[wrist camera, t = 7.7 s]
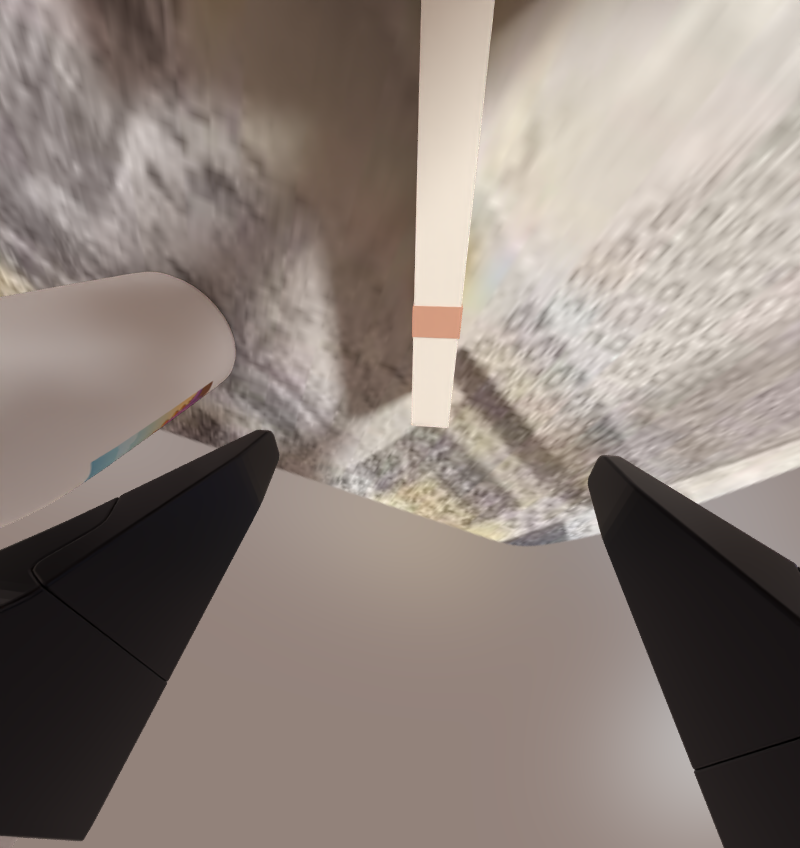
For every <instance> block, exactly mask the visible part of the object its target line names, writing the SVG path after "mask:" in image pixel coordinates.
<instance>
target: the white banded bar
mask: <svg viewBox="0 0 800 848" xmlns="http://www.w3.org/2000/svg"><path fill="white" fill-rule="evenodd" d="M494 4H495V0H421V31H420V73H419V116H418V158H417V200H416V243H415V285H414V304H413V311H412V337H413V370H412V412H411V425H414V426H429V427H443V428H448V425H449V416H450V407H451V398H452V389H453V379H454V370H455V361H456V352H457V343H458V339H459V337H460V328H461V319H462V310H463V306H462V297H463V288H464V279H465V270H466V260H467V251H468V242H469V233H470V224H471V215H472V206H473V196H474V187H475V178H476V169H477V160H478V151H479V141H480V132H481V123H482V114H483V105H484V96H485V87H486V77H487V68H488V59H489V50H490V41H491V32H492V22H493V13H494Z"/></svg>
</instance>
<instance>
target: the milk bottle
mask: <svg viewBox="0 0 800 848" xmlns="http://www.w3.org/2000/svg"><path fill="white" fill-rule="evenodd" d="M235 358H236V346H235V342H234V337H233V334H232V332H231V329H230V326H229V325H228V323H227V321H226V319H225V317H224V316H223V314H222V313H221V312H220V311H219V309H218V308H217V306H216V305H215V304H214V303H213V302H212V301H211V300H210V299H209V298H208V297H207V296H206V295H205V294H203V293H202V292H201V291H199V290H198V289H197V288H196V287H194V286H192V285H191V284H189V283H187V282H185V281H184V280H181V279H178V278H176V277H173V276H171V275H168V274H164V273H160V272H141V273H134V274H126V275H121V276H115V277H109V278H103V279H98V280H92V281H86V282H81V283H75V284H70V285H64V286H58V287H53V288H47V289H42V290H36V291H30V292H25V293H20V294H14V295H9V296H4V297H0V528H1V527H3V526H6V525H8V524H10V523H13V522H15V521H18V520H19V519H22V518H24V517H26V516H27V515H30V514H32V513H34V512H36V511H38V510H40V509H41V508H44V507H45V506H47V505H49V504H51V503H52V502H54V501H56V500H57V499H59V498H61V497H63V496H64V495H66V494H67V493H69V492H71V491H72V490H74V489H75V488H77V487H78V486H80V485H81V484H83V483H84V482H85V481H87V480H88V479H90V478H91V477H93V476H94V475H96V474H97V473H99V472H100V471H102V470H103V469H105V468H106V467H108V466H109V465H110V464H112V463H113V462H114V461H116V460H117V459H119V458H120V457H121V456H122V455H124V454H125V453H127V452H128V451H130V450H131V449H132V448H134V447H135V446H136V445H138V444H139V443H141V442H142V441H143V440H145V439H146V438H148V437H149V436H150V435H152V434H153V433H154V432H156V431H157V430H159V429H160V428H161V427H163V426H164V425H166V424H167V423H168V422H170V421H171V420H172V419H174V418H175V417H176V416H178V415H179V414H180V413H182V412H183V411H185V410H186V409H187V408H189V407H190V406H191V405H193V404H194V403H195V402H197V401H198V400H199V399H201V398H202V397H203V396H205V395H206V394H207V393H209V392H210V391H211V390H213V389H214V388H215V387H217V386H218V385H219V384H220V383H222V382H223V381H224V380H225V379H226V378H227V377H228V376H229V375H230V373H231V371H232V369H233V366H234V362H235Z"/></svg>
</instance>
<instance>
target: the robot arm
mask: <svg viewBox="0 0 800 848" xmlns="http://www.w3.org/2000/svg"><path fill="white" fill-rule="evenodd" d="M278 460H279V451H278V447H277V444H276V440H275V437H274V434H273V433H272V432H271V431H269V430H256V431H253V432H251V433H249V434H247V435H245V436H243V437H241V438H239V439H237V440H235V441H233V442H231V443H229V444H227V445H224V446H222V447H220V448H218V449H216V450H214V451H212V452H210V453H208V454H206V455H204V456H202V457H200V458H197V459H195V460H193V461H191V462H189V463H187V464H185V465H183V466H181V467H179V468H177V469H175V470H173V471H171V472H169V473H166V474H164V475H163V476H160V477H158V478H156V479H154V480H152V481H150V482H148V483H146V484H144V485H141V486H140V487H137V488H135V489H133V490H131V491H129V492H127V493H125V494H123V495H121V496H120V497H119V498H118V497H117V498H114V499H112V500H110V501H108V502H106V503H104V504H102V505H100V506H98V507H96V508H94V509H92V510H89V511H87V512H85V513H83V514H81V515H79V516H76V517H74V518H72V519H70V520H68V521H66V522H63V523H61V524H59V525H57V526H54V527H52V528H50V529H47V530H45V531H43V532H41V533H38V534H36V535H34V536H32V537H29V538H27V539H25V540H22V541H20V542H18V543H15V544H13V545H11V546H8V547H6V548H4V549H1V550H0V848H11V847H12V845H13V844H14V843H15V841H16V840H17V838H18V837H23V838H38V839H54V840H68V841H83V840H84V838H85V836H86V835H87V833H88V831H89V830H90V828H91V826H92V825H93V823H94V821H95V819H96V817H97V816H98V814H99V812H100V810H101V808H102V806H103V804H104V802H105V800H106V798H107V797H108V794H109V792H110V791H111V789H112V787H113V785H114V783H115V781H116V779H117V777H118V776H119V774H120V772H121V770H122V768H123V766H124V764H125V762H126V761H127V759H128V757H129V755H130V753H131V751H132V749H133V747H134V745H135V743H136V741H137V739H138V738H139V736H140V734H141V732H142V730H143V728H144V726H145V724H146V723H147V720H148V719H149V717H150V715H151V713H152V711H153V709H154V707H155V706H156V704H157V702H158V700H159V698H160V696H161V694H162V692H163V690H164V688H165V686H166V685H167V681H168V680H169V678H170V676H171V675H172V672H173V671H174V669H175V667H176V665H177V663H178V661H179V659H180V658H181V656H182V654H183V652H184V650H185V648H186V646H187V644H188V642H189V640H190V638H191V637H192V635H193V633H194V631H195V629H196V627H197V625H198V623H199V621H200V619H201V618H202V616H203V614H204V612H205V610H206V608H207V606H208V604H209V602H210V601H211V599H212V597H213V595H214V593H215V591H216V589H217V587H218V585H219V583H220V581H221V580H222V578H223V576H224V574H225V572H226V570H227V568H228V566H229V565H230V563H231V561H232V559H233V557H234V555H235V553H236V551H237V549H238V547H239V546H240V544H241V542H242V540H243V538H244V536H245V534H246V532H247V530H248V528H249V526H250V525H251V523H252V521H253V519H254V517H255V515H256V513H257V511H258V509H259V507H260V505H261V503H262V501H263V498H264V496H265V493H266V491H267V488H268V486H269V483H270V481H271V478H272V475H273V473H274V471H275V468H276V466H277V463H278ZM588 488H589V491H590V495H591V499H592V503H593V506H594V510H595V514H596V518H597V521H598V525H599V529H600V532H601V536H602V539H603V541H604V544H605V547H606V549H607V552H608V555H609V557H610V560H611V562H612V565H613V567H614V570H615V572H616V575H617V577H618V580H619V582H620V585H621V588H622V590H623V593H624V595H625V597H626V600H627V603H628V605H629V608H630V610H631V613H632V615H633V618H634V620H635V623H636V626H637V628H638V631H639V633H640V636H641V638H642V641H643V643H644V646H645V648H646V650H647V653H648V655H649V658H650V661H651V664H652V666H653V669H654V671H655V674H656V676H657V679H658V681H659V684H660V686H661V689H662V691H663V694H664V697H665V699H666V702H667V704H668V707H669V709H670V712H671V714H672V717H673V719H674V722H675V724H676V727H677V729H678V732H679V734H680V737H681V740H682V742H683V745H684V747H685V750H686V752H687V755H688V757H689V760H690V762H691V765H692V767H693V769H695V771H694V773H695V776H696V778H697V781H698V784H699V786H700V789H701V791H702V794H703V796H704V799H705V801H706V804H707V806H708V809H709V811H710V814H711V816H712V819H713V822H714V824H715V827H716V829H717V832H718V834H719V837H720V839H721V842H722V844H723V847H724V848H800V567H797V565H796V564H795V563H794V562H792V561H790V560H789V559H787V558H785V557H783V556H782V555H780V554H779V553H777V552H775V551H774V550H772V549H771V548H769V547H767V546H766V545H764V544H762V543H761V542H759V541H757V540H756V539H754V538H752V537H751V536H749V535H748V534H746V533H744V532H743V531H741V530H739V529H738V528H736V527H734V526H733V525H731V524H729V523H728V522H726V521H724V520H723V519H721V518H720V517H718V516H716V515H715V514H713V513H712V512H710V511H708V510H707V509H705V508H703V507H702V506H700V505H698V504H697V503H695V502H693V501H692V500H690V499H689V498H687V497H685V496H684V495H682V494H680V493H679V492H677V491H675V490H674V489H672V488H671V487H669V486H667V485H666V484H664V483H662V482H661V481H659V480H657V479H656V478H654V477H653V476H651V475H649V474H648V473H646V472H644V471H643V470H641V469H639V468H638V467H636V466H634V465H633V464H631V463H630V462H628V461H626V460H625V459H623V458H621V457H619V456H611V455H602V456H600V457H599V458H598V459H597V461H596V463H595V465H594V467H593V469H592V472H591V474H590V476H589V478H588Z"/></svg>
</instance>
